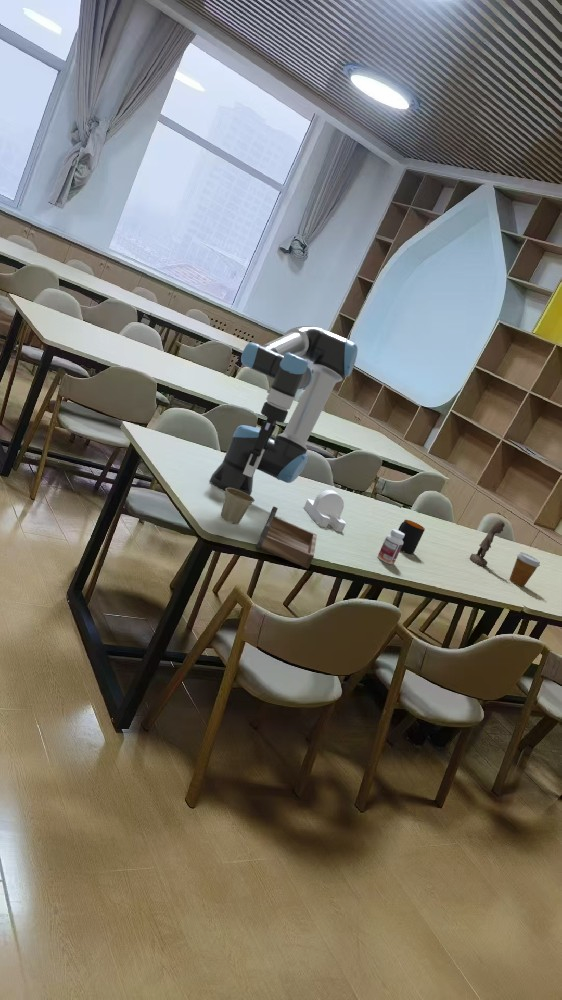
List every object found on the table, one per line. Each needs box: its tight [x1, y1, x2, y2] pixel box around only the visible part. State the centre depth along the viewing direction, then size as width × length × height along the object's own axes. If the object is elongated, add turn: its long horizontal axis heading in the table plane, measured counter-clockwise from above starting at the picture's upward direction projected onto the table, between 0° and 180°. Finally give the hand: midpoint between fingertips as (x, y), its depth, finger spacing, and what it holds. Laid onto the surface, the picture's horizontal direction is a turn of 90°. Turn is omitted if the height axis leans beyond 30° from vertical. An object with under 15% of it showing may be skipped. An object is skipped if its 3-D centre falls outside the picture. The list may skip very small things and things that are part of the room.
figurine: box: [469, 519, 506, 567], centre depth 314 cm, size 9×8×20 cm
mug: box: [397, 519, 426, 555], centre depth 286 cm, size 8×12×10 cm
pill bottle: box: [377, 528, 405, 565], centre depth 258 cm, size 6×6×11 cm
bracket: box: [303, 489, 347, 533], centre depth 277 cm, size 19×10×11 cm, turn 16°
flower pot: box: [220, 488, 255, 525], centre depth 229 cm, size 9×9×9 cm
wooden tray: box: [255, 506, 318, 570], centre depth 227 cm, size 25×16×7 cm, turn 174°
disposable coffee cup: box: [509, 552, 541, 588], centre depth 307 cm, size 10×10×12 cm
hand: (249, 471), depth 227 cm, fingers open, 13 cm apart
